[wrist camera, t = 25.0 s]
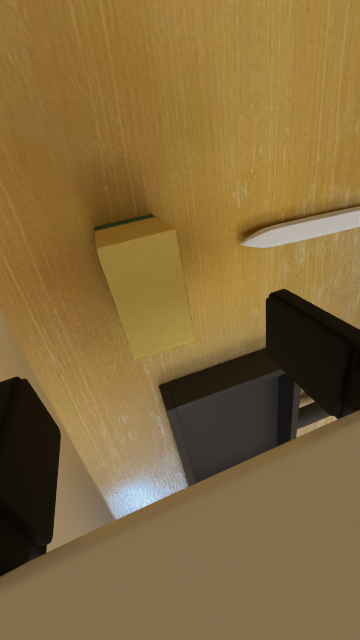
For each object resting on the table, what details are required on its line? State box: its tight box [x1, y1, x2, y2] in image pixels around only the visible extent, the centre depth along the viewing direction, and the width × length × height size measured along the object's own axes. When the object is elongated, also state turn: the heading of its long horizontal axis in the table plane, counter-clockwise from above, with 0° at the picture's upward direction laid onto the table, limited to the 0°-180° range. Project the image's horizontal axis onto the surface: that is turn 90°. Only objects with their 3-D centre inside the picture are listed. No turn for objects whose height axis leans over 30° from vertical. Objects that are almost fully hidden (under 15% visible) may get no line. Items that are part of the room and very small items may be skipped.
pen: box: [241, 206, 360, 248], centre depth 21 cm, size 2×14×2 cm, turn 98°
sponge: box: [94, 214, 195, 360], centre depth 17 cm, size 4×7×6 cm, turn 10°
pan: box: [159, 349, 301, 486], centre depth 31 cm, size 14×21×3 cm, turn 10°
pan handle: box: [297, 402, 331, 429], centre depth 32 cm, size 7×2×2 cm, turn 100°
